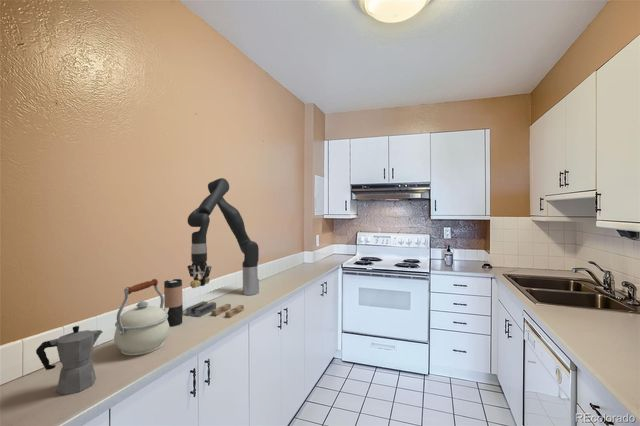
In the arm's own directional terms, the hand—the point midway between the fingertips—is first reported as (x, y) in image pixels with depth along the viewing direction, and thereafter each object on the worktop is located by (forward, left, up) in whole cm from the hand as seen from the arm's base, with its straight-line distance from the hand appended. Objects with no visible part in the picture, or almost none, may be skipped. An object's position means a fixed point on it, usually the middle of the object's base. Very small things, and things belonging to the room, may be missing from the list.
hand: (199, 285), depth 155 cm
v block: (-1, 0, -14) cm, 14 cm away
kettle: (+28, +26, -14) cm, 41 cm away
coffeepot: (+50, +44, -14) cm, 68 cm away
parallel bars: (-11, +10, -14) cm, 20 cm away
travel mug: (+14, +8, -14) cm, 22 cm away
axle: (0, 0, 0) cm, 1 cm away
